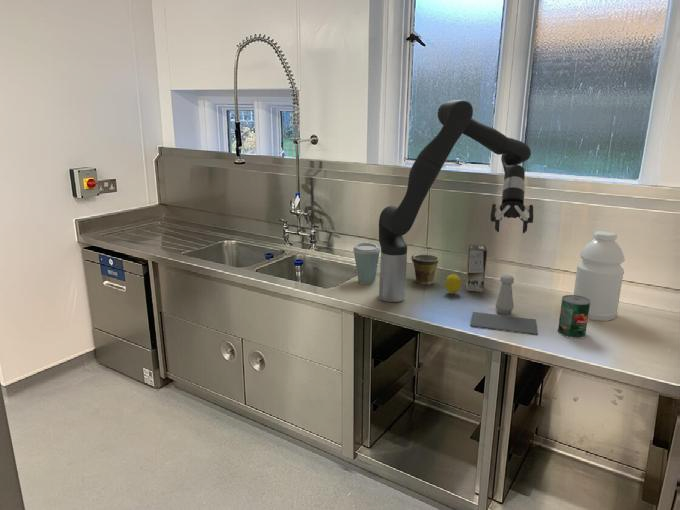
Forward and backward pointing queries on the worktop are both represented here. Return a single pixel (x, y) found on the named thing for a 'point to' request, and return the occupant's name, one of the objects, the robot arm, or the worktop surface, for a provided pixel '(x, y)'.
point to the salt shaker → (505, 295)
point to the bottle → (600, 275)
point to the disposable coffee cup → (366, 261)
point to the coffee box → (476, 267)
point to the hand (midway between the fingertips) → (510, 231)
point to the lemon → (453, 283)
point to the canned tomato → (574, 316)
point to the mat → (504, 323)
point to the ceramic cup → (425, 268)
